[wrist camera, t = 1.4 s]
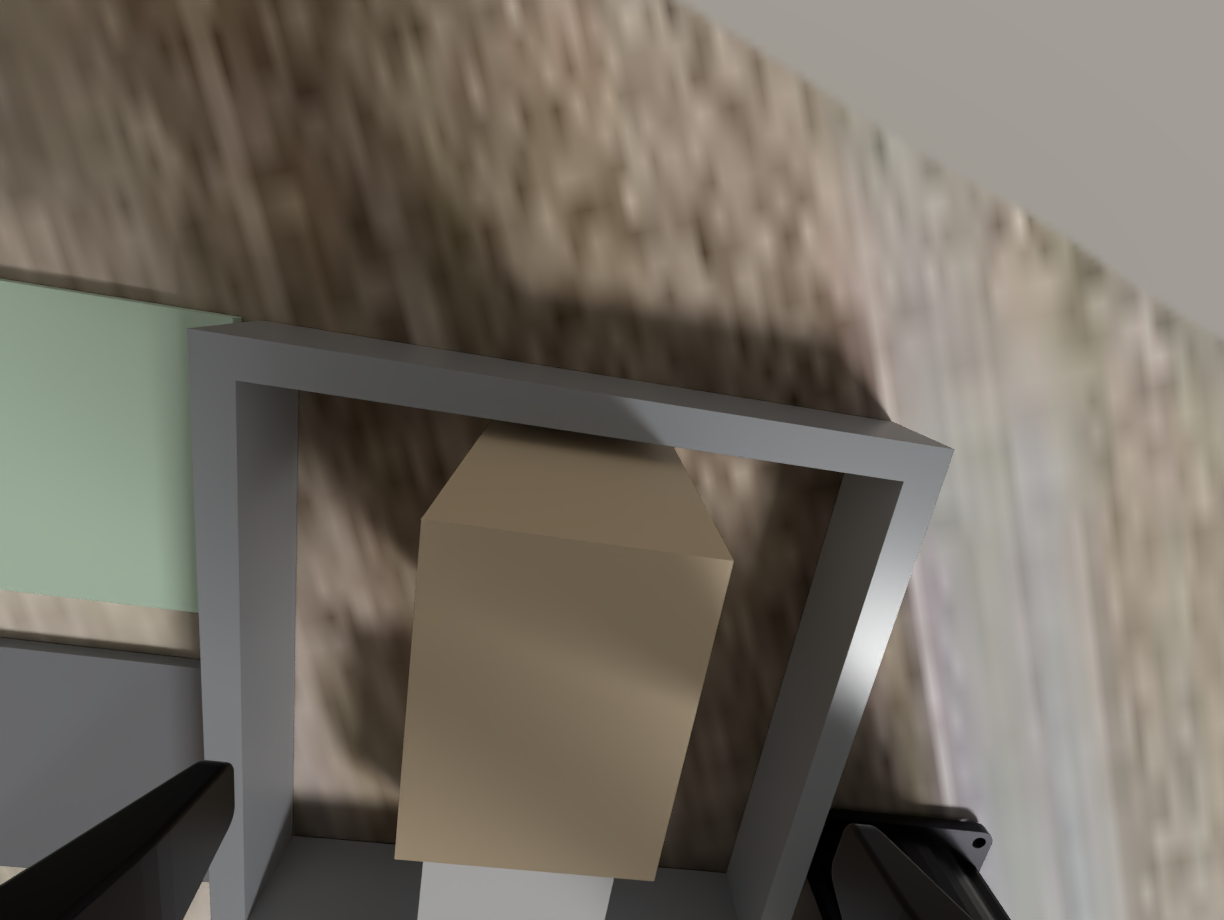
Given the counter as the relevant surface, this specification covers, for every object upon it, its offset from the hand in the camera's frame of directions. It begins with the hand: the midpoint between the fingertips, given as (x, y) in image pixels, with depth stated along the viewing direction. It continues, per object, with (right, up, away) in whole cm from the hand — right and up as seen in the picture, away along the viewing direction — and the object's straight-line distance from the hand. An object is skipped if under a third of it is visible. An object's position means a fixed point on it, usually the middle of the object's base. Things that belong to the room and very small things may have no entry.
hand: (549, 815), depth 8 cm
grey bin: (-1, -1, +10) cm, 11 cm away
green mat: (-14, +5, +8) cm, 17 cm away
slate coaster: (-16, -5, +11) cm, 20 cm away
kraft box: (-1, +3, +9) cm, 10 cm away
